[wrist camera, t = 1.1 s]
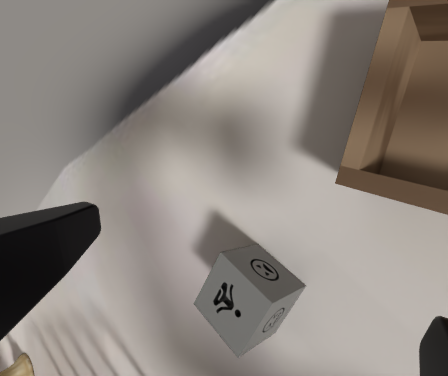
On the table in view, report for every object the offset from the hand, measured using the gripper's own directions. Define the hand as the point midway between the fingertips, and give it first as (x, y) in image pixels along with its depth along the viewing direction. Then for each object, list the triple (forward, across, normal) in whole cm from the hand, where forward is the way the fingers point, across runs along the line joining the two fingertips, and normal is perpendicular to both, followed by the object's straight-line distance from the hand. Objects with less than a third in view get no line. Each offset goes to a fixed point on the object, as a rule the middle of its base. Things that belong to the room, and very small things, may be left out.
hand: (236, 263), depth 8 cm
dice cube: (+13, +1, +13) cm, 19 cm away
